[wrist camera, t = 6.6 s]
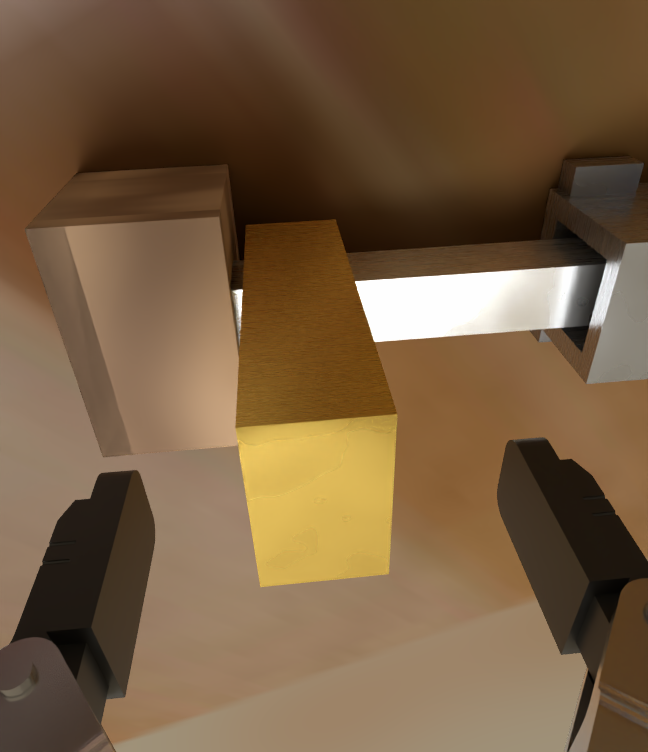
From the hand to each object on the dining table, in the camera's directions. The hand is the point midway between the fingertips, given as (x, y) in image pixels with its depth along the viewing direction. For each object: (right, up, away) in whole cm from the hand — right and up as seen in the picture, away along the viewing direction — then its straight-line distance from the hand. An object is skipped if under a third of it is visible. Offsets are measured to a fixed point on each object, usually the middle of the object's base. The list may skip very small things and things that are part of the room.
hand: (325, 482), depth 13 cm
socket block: (-6, +6, +9) cm, 12 cm away
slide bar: (+3, +6, +8) cm, 10 cm away
